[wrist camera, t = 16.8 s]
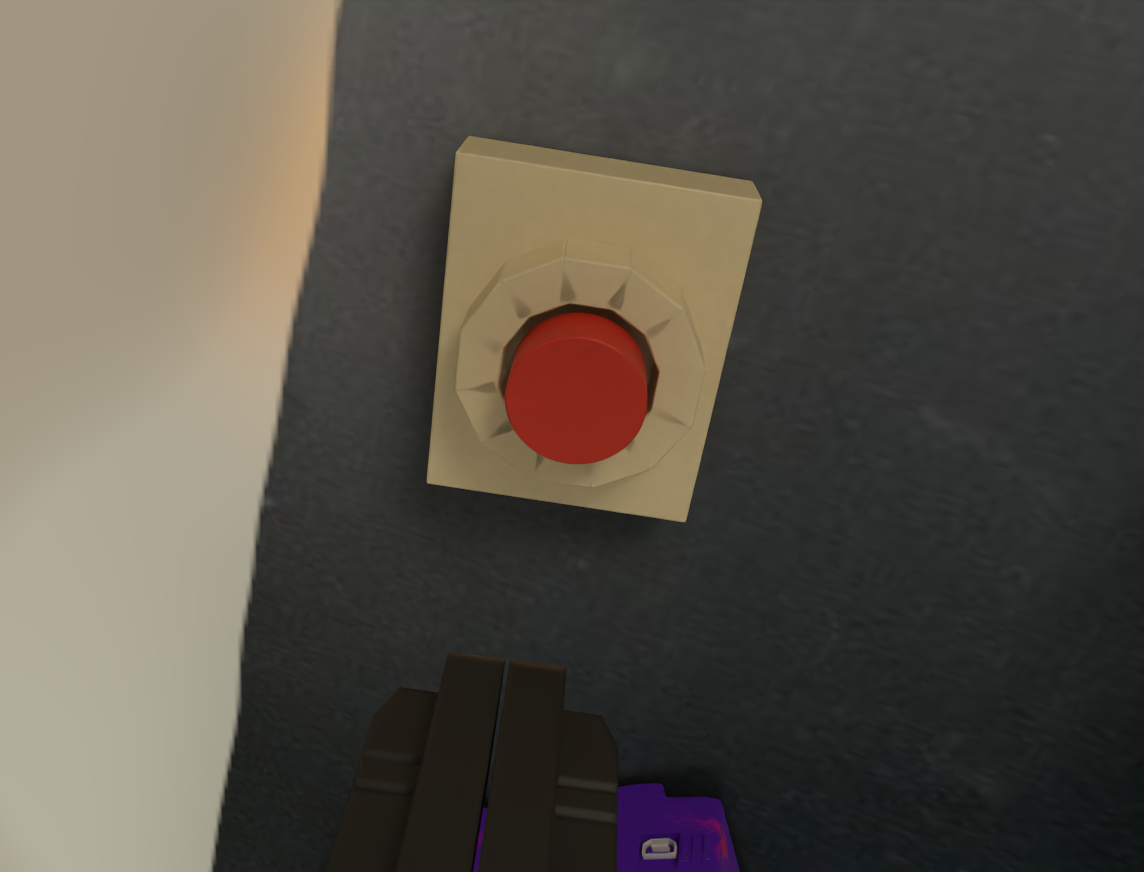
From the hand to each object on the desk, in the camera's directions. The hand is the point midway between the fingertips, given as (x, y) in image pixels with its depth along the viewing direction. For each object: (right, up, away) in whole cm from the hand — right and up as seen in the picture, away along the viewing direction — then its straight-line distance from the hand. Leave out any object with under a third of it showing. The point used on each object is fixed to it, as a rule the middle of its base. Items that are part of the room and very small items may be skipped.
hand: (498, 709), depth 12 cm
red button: (+1, +5, +14) cm, 15 cm away
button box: (+1, +7, +17) cm, 18 cm away
